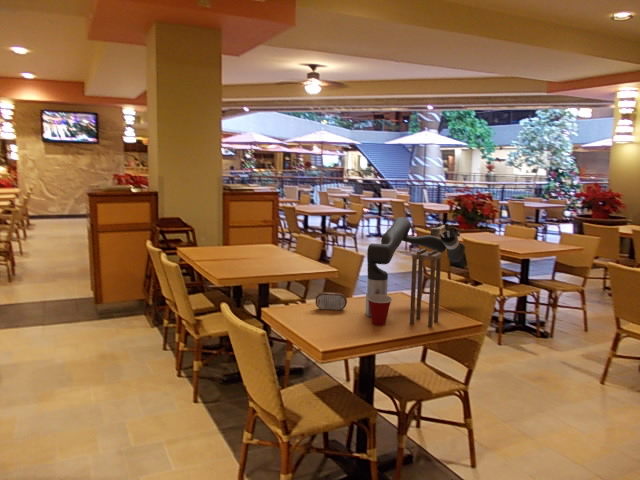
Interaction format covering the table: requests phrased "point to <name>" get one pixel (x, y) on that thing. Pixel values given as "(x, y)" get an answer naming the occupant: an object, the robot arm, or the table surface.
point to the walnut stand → (421, 256)
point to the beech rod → (438, 230)
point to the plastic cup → (379, 308)
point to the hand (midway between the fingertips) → (442, 225)
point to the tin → (331, 301)
